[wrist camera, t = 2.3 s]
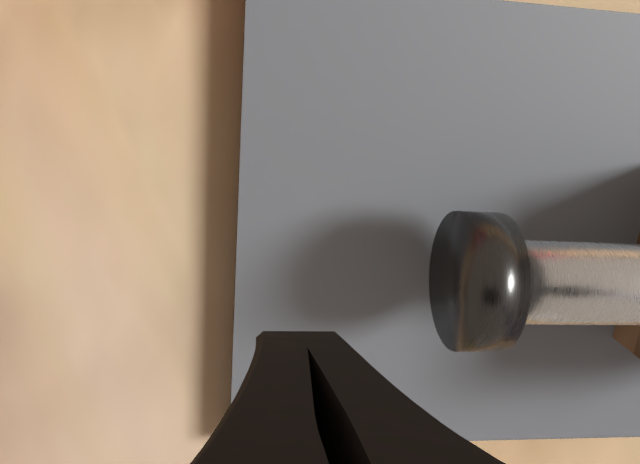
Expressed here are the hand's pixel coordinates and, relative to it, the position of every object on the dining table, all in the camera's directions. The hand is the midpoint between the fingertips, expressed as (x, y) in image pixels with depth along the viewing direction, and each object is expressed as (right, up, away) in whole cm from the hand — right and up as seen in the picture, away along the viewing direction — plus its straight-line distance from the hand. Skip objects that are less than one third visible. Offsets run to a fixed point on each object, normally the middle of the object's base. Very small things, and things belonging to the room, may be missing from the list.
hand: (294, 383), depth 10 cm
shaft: (+9, +2, +8) cm, 12 cm away
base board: (+8, +2, +9) cm, 12 cm away
